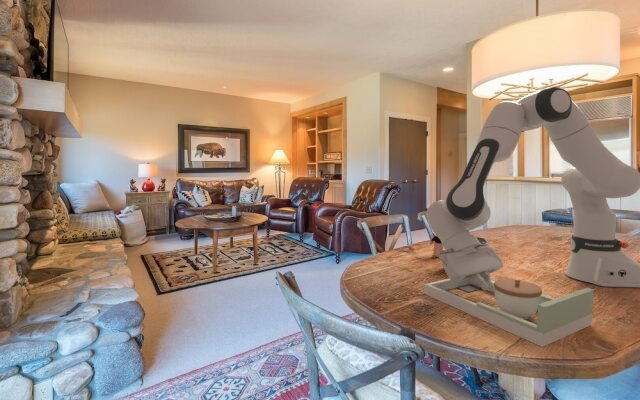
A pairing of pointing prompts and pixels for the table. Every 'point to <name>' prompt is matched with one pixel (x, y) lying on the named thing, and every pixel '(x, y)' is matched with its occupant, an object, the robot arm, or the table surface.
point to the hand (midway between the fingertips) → (489, 288)
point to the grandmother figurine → (436, 246)
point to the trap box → (441, 293)
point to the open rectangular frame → (554, 311)
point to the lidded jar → (517, 297)
